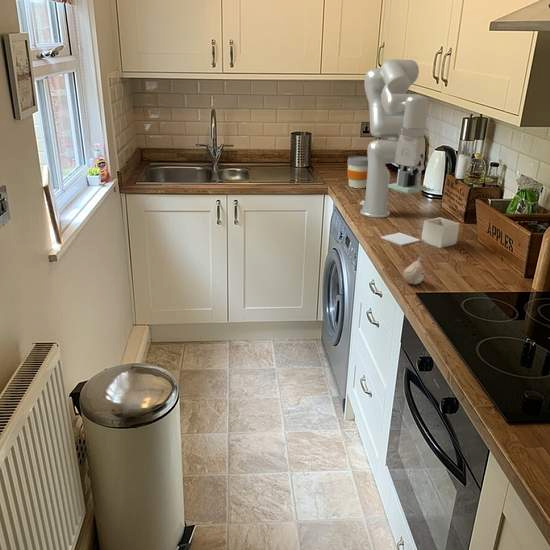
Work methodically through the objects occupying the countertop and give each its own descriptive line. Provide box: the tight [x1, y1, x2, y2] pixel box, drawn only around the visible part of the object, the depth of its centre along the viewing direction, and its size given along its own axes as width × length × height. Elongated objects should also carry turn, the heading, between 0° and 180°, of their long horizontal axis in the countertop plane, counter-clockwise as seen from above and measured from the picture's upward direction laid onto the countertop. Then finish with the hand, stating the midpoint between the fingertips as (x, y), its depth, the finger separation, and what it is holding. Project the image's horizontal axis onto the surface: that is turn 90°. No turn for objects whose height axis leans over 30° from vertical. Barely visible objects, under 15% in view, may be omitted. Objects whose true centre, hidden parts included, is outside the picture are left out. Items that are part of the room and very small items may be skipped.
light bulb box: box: [396, 167, 423, 185], centre depth 284 cm, size 11×7×11 cm, turn 124°
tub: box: [420, 217, 460, 249], centre depth 207 cm, size 9×9×8 cm
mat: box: [380, 232, 421, 246], centre depth 211 cm, size 10×10×1 cm
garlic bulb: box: [402, 255, 425, 285], centre depth 170 cm, size 7×6×8 cm
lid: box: [388, 170, 427, 195], centre depth 202 cm, size 9×9×7 cm
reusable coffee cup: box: [346, 155, 368, 188], centre depth 286 cm, size 13×13×15 cm
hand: (407, 184), depth 202 cm, fingers closed on lid, 2 cm apart
